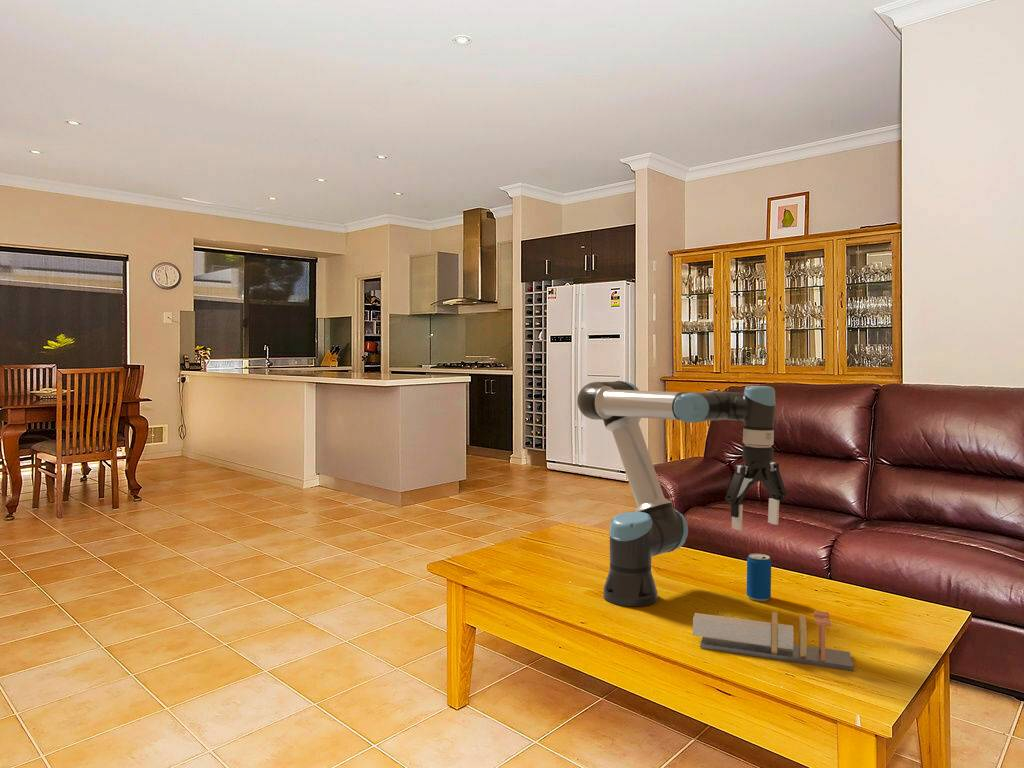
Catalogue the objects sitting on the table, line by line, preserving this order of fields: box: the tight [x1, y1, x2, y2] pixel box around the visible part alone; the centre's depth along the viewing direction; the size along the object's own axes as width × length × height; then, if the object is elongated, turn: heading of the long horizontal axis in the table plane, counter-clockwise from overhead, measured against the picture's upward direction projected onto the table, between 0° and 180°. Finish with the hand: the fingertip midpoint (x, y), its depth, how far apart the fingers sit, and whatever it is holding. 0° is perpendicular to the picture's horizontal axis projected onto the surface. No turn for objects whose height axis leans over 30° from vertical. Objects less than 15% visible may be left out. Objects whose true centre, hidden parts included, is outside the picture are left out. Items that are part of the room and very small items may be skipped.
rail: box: [700, 611, 855, 672], centre depth 156 cm, size 32×8×8 cm, turn 69°
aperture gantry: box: [813, 610, 832, 661], centre depth 152 cm, size 3×7×9 cm, turn 159°
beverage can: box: [746, 553, 772, 602], centre depth 192 cm, size 6×6×12 cm
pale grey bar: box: [692, 612, 795, 650], centre depth 158 cm, size 22×4×4 cm, turn 69°
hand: (755, 526), depth 176 cm, fingers open, 13 cm apart
